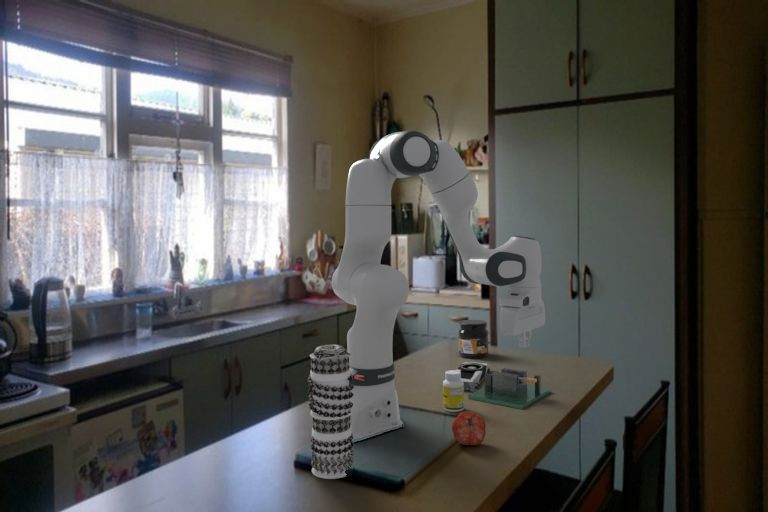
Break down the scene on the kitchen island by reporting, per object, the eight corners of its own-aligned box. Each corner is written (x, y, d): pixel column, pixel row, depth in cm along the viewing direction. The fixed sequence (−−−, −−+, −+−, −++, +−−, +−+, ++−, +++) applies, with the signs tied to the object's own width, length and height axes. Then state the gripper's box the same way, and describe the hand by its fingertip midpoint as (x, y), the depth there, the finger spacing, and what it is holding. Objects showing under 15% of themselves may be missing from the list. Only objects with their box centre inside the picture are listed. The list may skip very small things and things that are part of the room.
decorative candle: (330, 457, 131) (327, 340, 129) (364, 467, 126) (362, 345, 124) (300, 472, 124) (296, 348, 122) (335, 483, 118) (332, 354, 116)
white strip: (533, 384, 166) (532, 379, 166) (487, 380, 174) (487, 375, 174) (537, 382, 168) (537, 377, 168) (492, 377, 176) (492, 372, 176)
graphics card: (442, 380, 178) (462, 359, 201) (442, 392, 178) (462, 369, 201) (477, 383, 174) (493, 361, 198) (477, 394, 175) (493, 372, 198)
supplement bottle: (442, 406, 164) (442, 369, 163) (463, 405, 163) (462, 369, 163) (443, 412, 158) (443, 374, 157) (465, 412, 158) (464, 374, 157)
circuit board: (522, 409, 160) (522, 384, 159) (468, 398, 170) (468, 375, 169) (550, 392, 174) (550, 369, 173) (499, 383, 184) (499, 361, 183)
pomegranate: (450, 448, 140) (447, 434, 132) (456, 417, 144) (453, 402, 136) (483, 454, 138) (482, 441, 130) (488, 423, 142) (487, 408, 134)
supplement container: (464, 360, 212) (464, 325, 211) (454, 353, 223) (454, 320, 222) (493, 358, 214) (493, 323, 214) (482, 351, 225) (482, 318, 224)
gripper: (530, 291, 177) (529, 339, 178) (495, 299, 161) (495, 352, 162) (551, 292, 173) (550, 341, 174) (518, 301, 157) (518, 355, 158)
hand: (524, 347), depth 168 cm, fingers closed
